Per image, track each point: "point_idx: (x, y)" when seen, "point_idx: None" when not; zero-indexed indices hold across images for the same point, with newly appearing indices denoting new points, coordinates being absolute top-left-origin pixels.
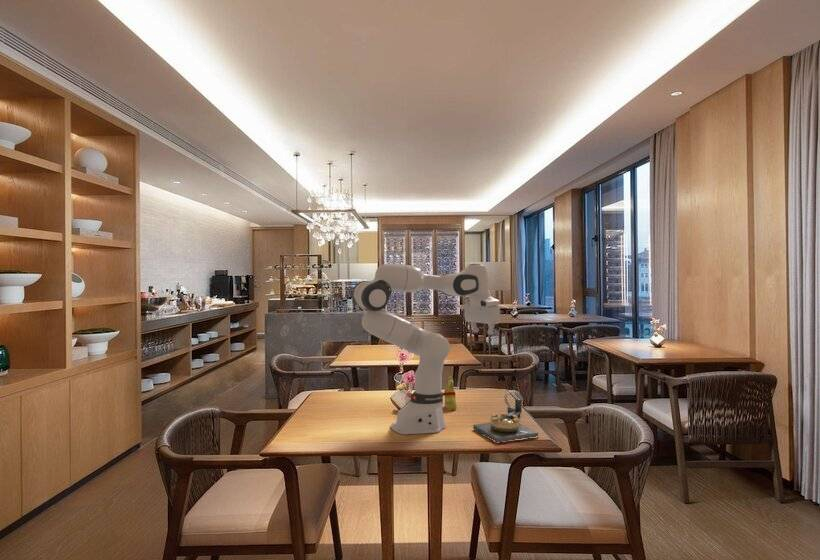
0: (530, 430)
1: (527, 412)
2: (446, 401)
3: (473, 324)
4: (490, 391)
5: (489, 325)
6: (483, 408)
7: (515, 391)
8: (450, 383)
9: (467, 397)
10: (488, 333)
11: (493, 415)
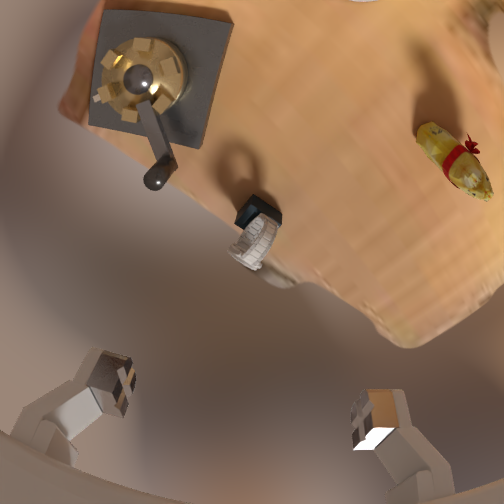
0: (106, 121)
1: None
2: (451, 136)
3: (418, 474)
4: (426, 325)
5: (35, 427)
6: (365, 208)
7: (242, 256)
8: (468, 167)
9: (451, 259)
10: (111, 355)
11: (166, 62)
